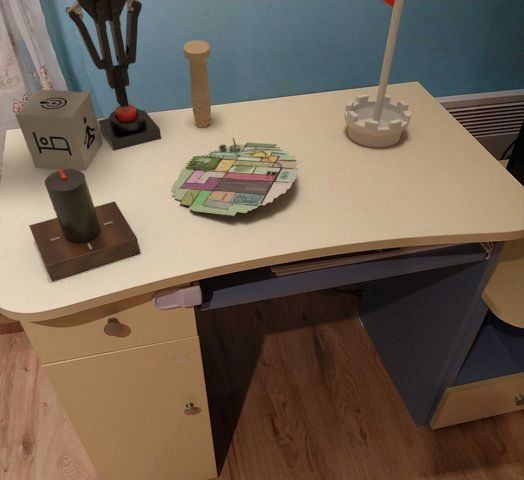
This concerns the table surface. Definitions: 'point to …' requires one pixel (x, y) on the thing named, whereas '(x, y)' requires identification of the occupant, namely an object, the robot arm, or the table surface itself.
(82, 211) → the knob
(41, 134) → the icon cube
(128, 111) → the button
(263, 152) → the city model
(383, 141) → the flag stand
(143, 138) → the button box
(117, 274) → the table surface
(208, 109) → the handle
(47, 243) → the panel
